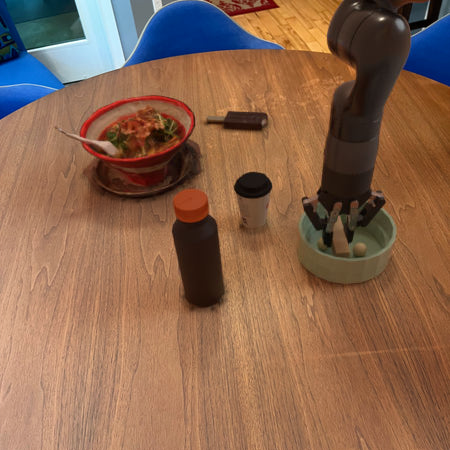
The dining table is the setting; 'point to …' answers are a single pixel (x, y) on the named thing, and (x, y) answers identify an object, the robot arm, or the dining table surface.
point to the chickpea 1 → (322, 244)
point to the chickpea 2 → (359, 249)
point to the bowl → (354, 266)
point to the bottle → (197, 248)
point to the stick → (339, 241)
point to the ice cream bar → (242, 120)
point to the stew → (140, 145)
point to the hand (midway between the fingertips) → (336, 243)
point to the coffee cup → (253, 198)
